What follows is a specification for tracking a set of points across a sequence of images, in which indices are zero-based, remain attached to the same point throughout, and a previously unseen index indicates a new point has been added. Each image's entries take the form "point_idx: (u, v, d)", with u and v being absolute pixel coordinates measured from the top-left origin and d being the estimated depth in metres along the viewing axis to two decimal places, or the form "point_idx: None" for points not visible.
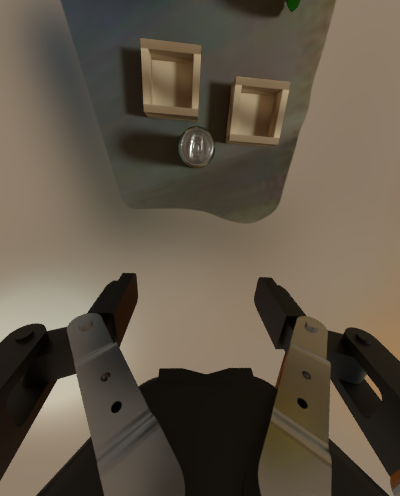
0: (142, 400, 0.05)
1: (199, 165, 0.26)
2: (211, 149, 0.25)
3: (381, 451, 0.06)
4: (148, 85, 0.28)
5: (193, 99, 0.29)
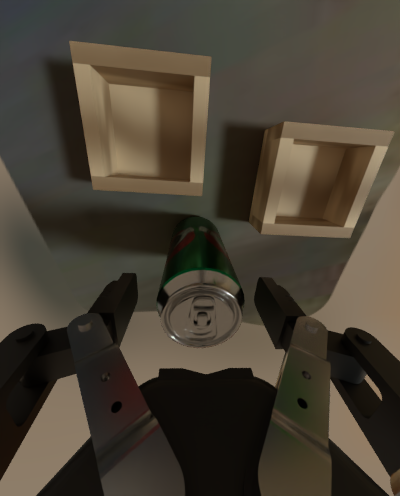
0: (142, 400, 0.05)
1: None
2: (237, 320, 0.10)
3: (381, 451, 0.06)
4: (98, 141, 0.13)
5: (193, 166, 0.14)
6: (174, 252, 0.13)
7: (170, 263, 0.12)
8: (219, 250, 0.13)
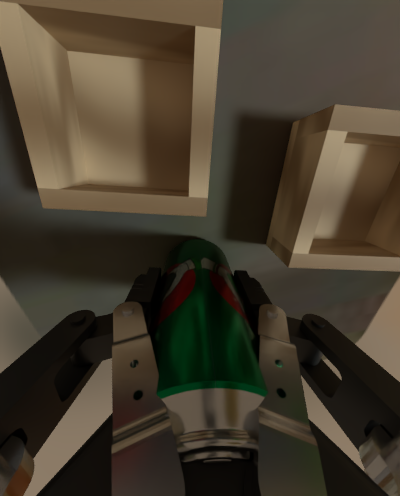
0: None
1: None
2: None
3: (345, 425, 0.07)
4: (44, 134, 0.08)
5: (193, 173, 0.09)
6: (162, 313, 0.08)
7: (153, 341, 0.07)
8: (235, 311, 0.08)
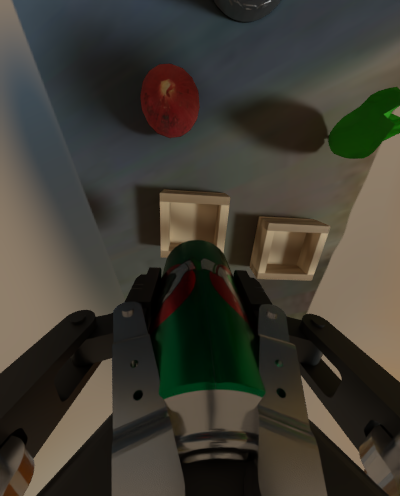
0: None
1: None
2: None
3: (345, 425, 0.07)
4: (167, 234, 0.24)
5: (218, 244, 0.25)
6: (162, 314, 0.08)
7: (153, 342, 0.07)
8: (235, 311, 0.08)
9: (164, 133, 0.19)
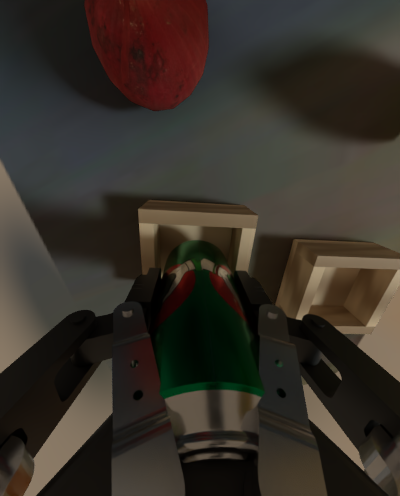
0: (161, 396, 0.05)
1: None
2: None
3: (345, 425, 0.07)
4: None
5: None
6: (162, 314, 0.08)
7: (153, 342, 0.07)
8: (235, 312, 0.08)
9: (140, 98, 0.10)
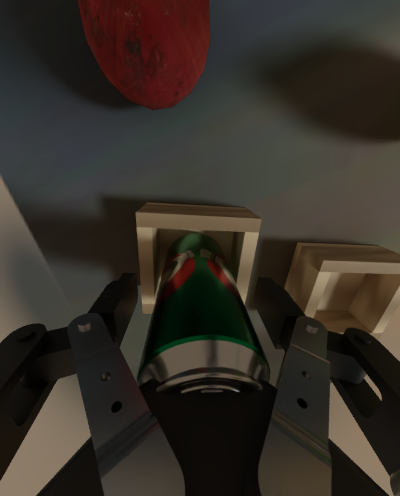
0: (142, 400, 0.05)
1: None
2: None
3: (381, 451, 0.06)
4: (152, 279, 0.14)
5: None
6: (166, 292, 0.09)
7: (160, 313, 0.08)
8: (229, 290, 0.09)
9: (138, 96, 0.09)
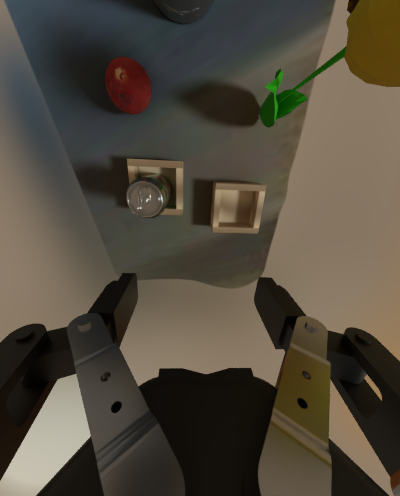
0: (142, 400, 0.05)
1: None
2: (161, 201, 0.23)
3: (381, 451, 0.06)
4: None
5: (177, 202, 0.32)
6: None
7: None
8: (159, 179, 0.25)
9: (125, 110, 0.26)
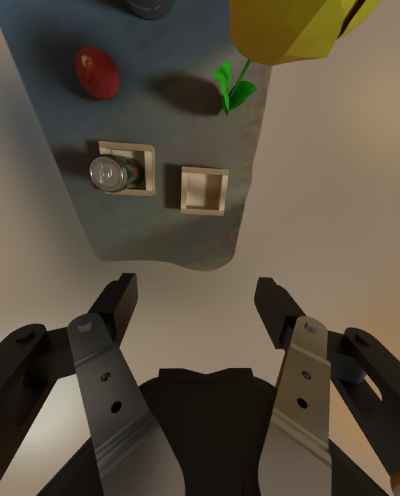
0: (142, 400, 0.05)
1: (112, 190, 0.26)
2: (121, 176, 0.25)
3: (381, 451, 0.06)
4: None
5: (147, 183, 0.34)
6: None
7: None
8: (124, 158, 0.28)
9: (95, 95, 0.28)
